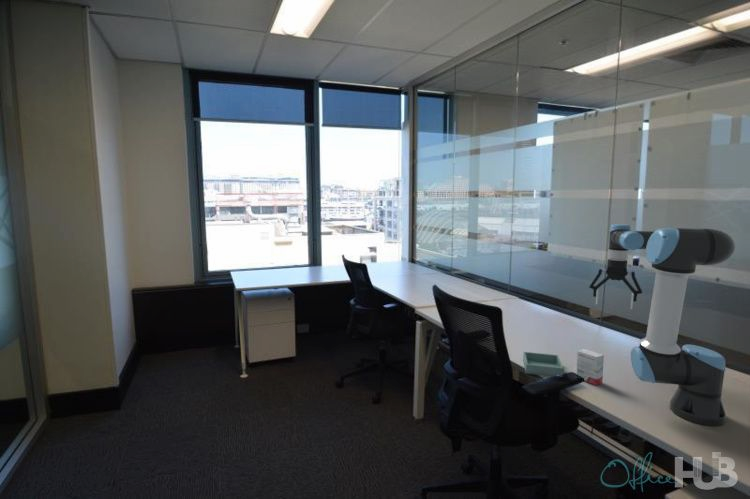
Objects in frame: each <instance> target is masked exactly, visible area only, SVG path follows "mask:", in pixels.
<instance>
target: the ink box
mask: <svg viewBox="0 0 750 499" xmlns="http://www.w3.org/2000/svg"><path fill="white" fill-rule="evenodd" d="M576 357H577V358H576V374H577V375H579V376H581V377H583V378H584V380H585V381H584V382H586V383H589V384H591V385H595V386H599V385H600V384H602V383H603V378H604V359H605V358H604V357H605V356H604V354H602V353H598V352H596V351H594V350H593V351H592V350H589V349H586V348H582V349H579V350H577V356H576Z"/></svg>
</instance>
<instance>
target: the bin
mask: <svg viewBox="0 0 750 499" xmlns="http://www.w3.org/2000/svg"><path fill="white" fill-rule="evenodd" d="M522 361H523V367H524V371H525V372H524V373H525V374H527V375H535V376H536V375H537V376H545V377H552V376H557V375H563V376H564V366H563V364H562V362H561V359H560V357H559V355H558V354H551V353H550V354H549V353H541V352H540V353H539V352H531V351H529V352H528V351H523V355H522Z"/></svg>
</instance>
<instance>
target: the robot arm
mask: <svg viewBox="0 0 750 499" xmlns="http://www.w3.org/2000/svg"><path fill="white" fill-rule="evenodd" d="M608 238H609V239H608V241H609V242H608V251H607V252H608V253H607V258H608V259H607V262H606V263H607V266H606V269H605V268H601V267H600V268H599V269H598V271H597V272H598V273H597V274H596V276H595V277H594V279H593V280H592V282H591V283H590V285H589V286H588V287H589V289H592V290H593V294H592V295H593V296H592V297H594V298H595V305H597V306H598V301H599V293H600V292H599V291H600V290H599V288H600V287H601V286H602V285H604V284H605V283H607V281H609V280H612V281H619V282H620V281H622V282H624V284H625V285H626V286H627V288H629V290H630V291H631V298H630V310H633V307H634V303H635V302H637V298H638V295H640V294H642V293H643V291H642V288H641V286H640V284H639V281H638V280H637V277H636V274H635V273H636V271H634V270H631V271H628V270H627V269H628V258H629V250H631V251H636V250H645V253H646V255H645V257H646V260H647V261H648V263H650V264H651V268H652V270H654V272H655V278H654V284H653V290H652V296H651V297H652V298H651V303H650V310H649V314H648V315H649V316H648V323H647V328H646V333H645V334H646V335H645V337H644V338H641V339H640V340H639V345H638V346H633V347H632V349H630V350H631V351H630V362H631V368H632V369H633V372H634V374H635V376H636V377H637V379H638V380H640V381H642V382H646V383H652V384H663V385H664V384H666V385H678V386H677V389H676V391H675V392H674V394H673V396H672V397H671V399H670V402H669V409H670V411H671V410H672V411H673V412H672V411H671V412H672V413H673V414H675V415H676V416H678V417H679V418H682V419H685V420H686V421H689V422H692V423H695V424H698V425H702V426H703V425H704V426H709V427H710V426H712V427H718V426H722V425H725V423H726V417H727V416H726V412H725V409H724V408H725V407H724V404H723V401H722V400H723V399H722V395H723V394H722V393H723V386H724V378H725V372H726V359H725V357H724V356H723V355H722V354H721V353H719V352H717V351H714V350H712V349H710V348H706V347H704V346H699V345H694V344H684V345H682V347H680V345H678V344H677V341H678V336H679V330H680V324H681V319H682V313H683V307H684V303H685V296H686V291H687V285H688V278H689V277H690V276H692V275H694V274H695V273H696V268H697V266H714V265H719V264H722V263H724V262H726V261H728V260H729V259H730V258H731V257H732V256H733V254H734V252H735V249H736V248H735V247H736V244H735V241H734V240H733V238H732V236H730V235H729V234H728V233H727V232H724V231H722V230H719V229H714V228H690V227H689V228H687V227H686V228H684V227H667V228H664V227H663V228H659V229H658V228H657V229H656V230H655V231H653V230H651V231H650V230H631V226H630V225H629V224H626V223H620V224H619V223H614V224H611V225H610V228H609V237H608ZM603 274H606V276H605V277H604V278H603V279H602V280H601V281H600V282H598V280H599V278H600V277H601V275H603ZM627 275H628V276H629V277H630V278H631V279H632V281H633V283H634V286H635V287H636V289H635V288H634V286H633V285H632V284H631V283H630V282H629V281H628V279H627V278H626V277H627ZM597 282H598V283H597ZM596 283H597V284H596Z"/></svg>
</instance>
